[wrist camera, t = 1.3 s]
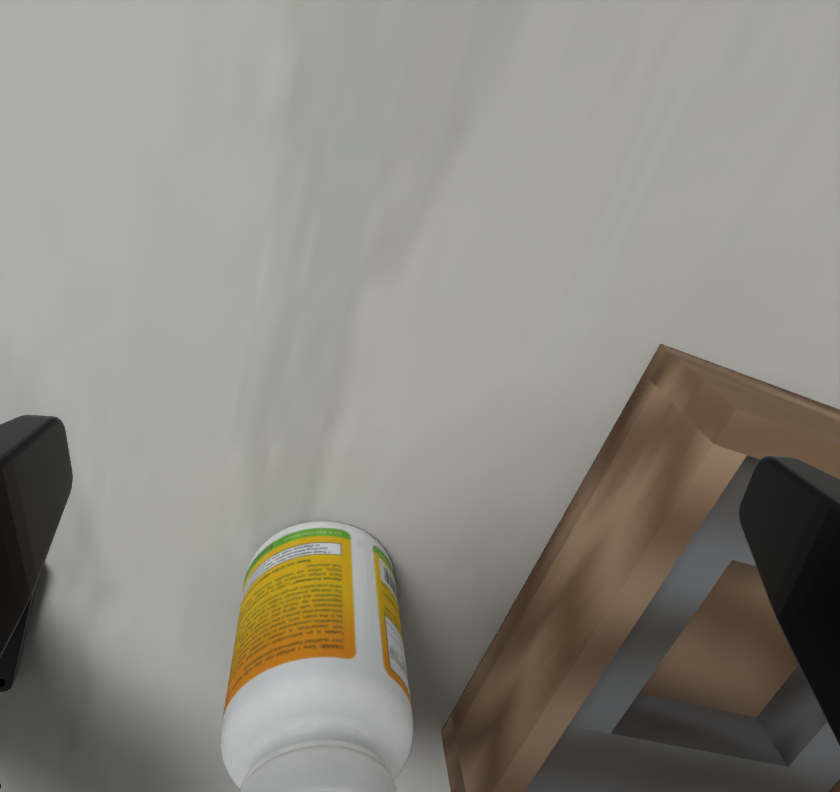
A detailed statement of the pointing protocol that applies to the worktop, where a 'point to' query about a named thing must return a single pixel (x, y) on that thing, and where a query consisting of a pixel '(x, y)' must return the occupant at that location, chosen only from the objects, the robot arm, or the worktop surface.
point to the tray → (634, 566)
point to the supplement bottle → (318, 667)
